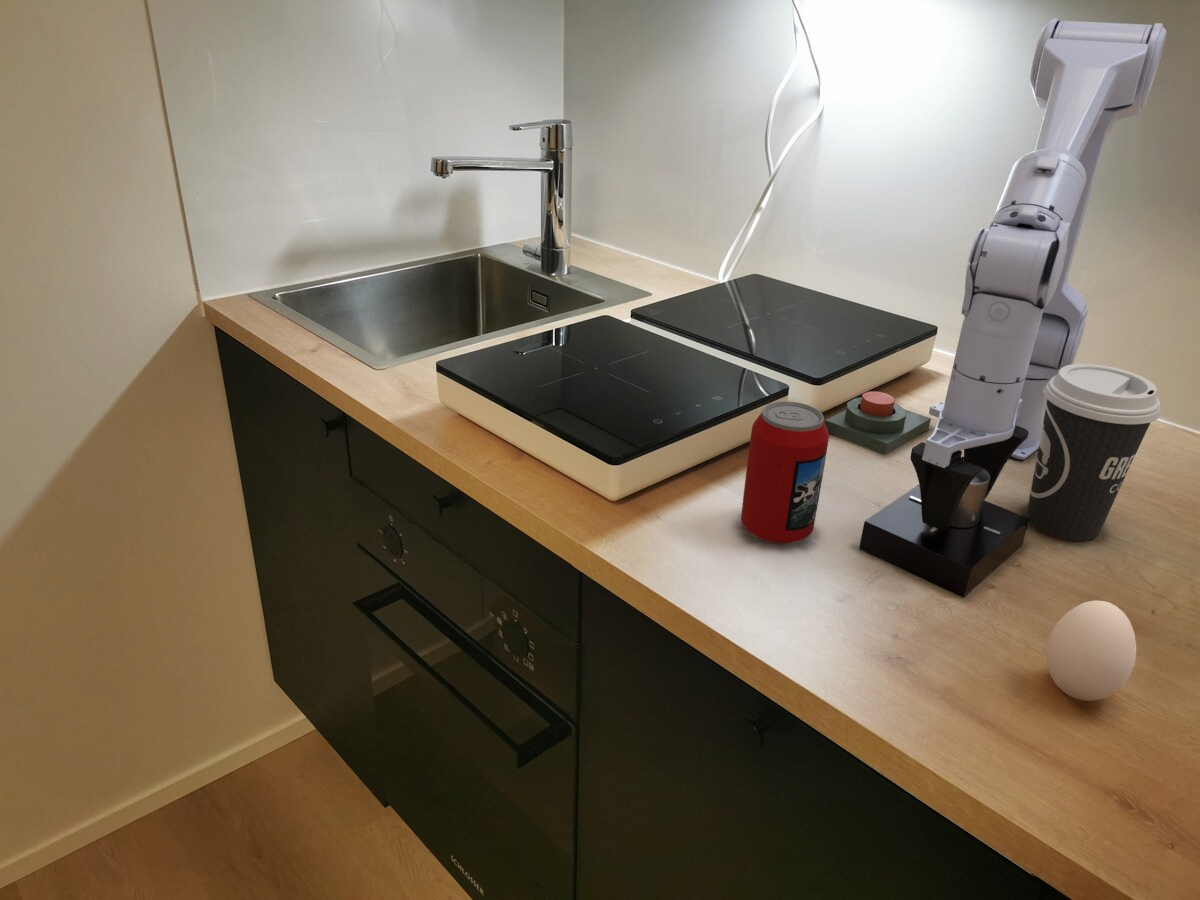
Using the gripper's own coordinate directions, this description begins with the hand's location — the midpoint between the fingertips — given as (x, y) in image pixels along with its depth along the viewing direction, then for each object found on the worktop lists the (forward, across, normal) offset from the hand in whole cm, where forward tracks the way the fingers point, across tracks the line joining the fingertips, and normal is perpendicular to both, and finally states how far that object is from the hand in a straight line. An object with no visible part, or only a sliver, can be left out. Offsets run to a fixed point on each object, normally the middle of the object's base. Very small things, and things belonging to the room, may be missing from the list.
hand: (954, 510), depth 82 cm
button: (+1, -16, -17) cm, 23 cm away
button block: (+4, -17, -17) cm, 24 cm away
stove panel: (+4, +1, 0) cm, 4 cm away
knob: (+1, 0, 0) cm, 1 cm away
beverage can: (+4, +10, -12) cm, 16 cm away
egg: (+4, +12, +16) cm, 20 cm away
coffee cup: (+4, -12, +6) cm, 14 cm away
